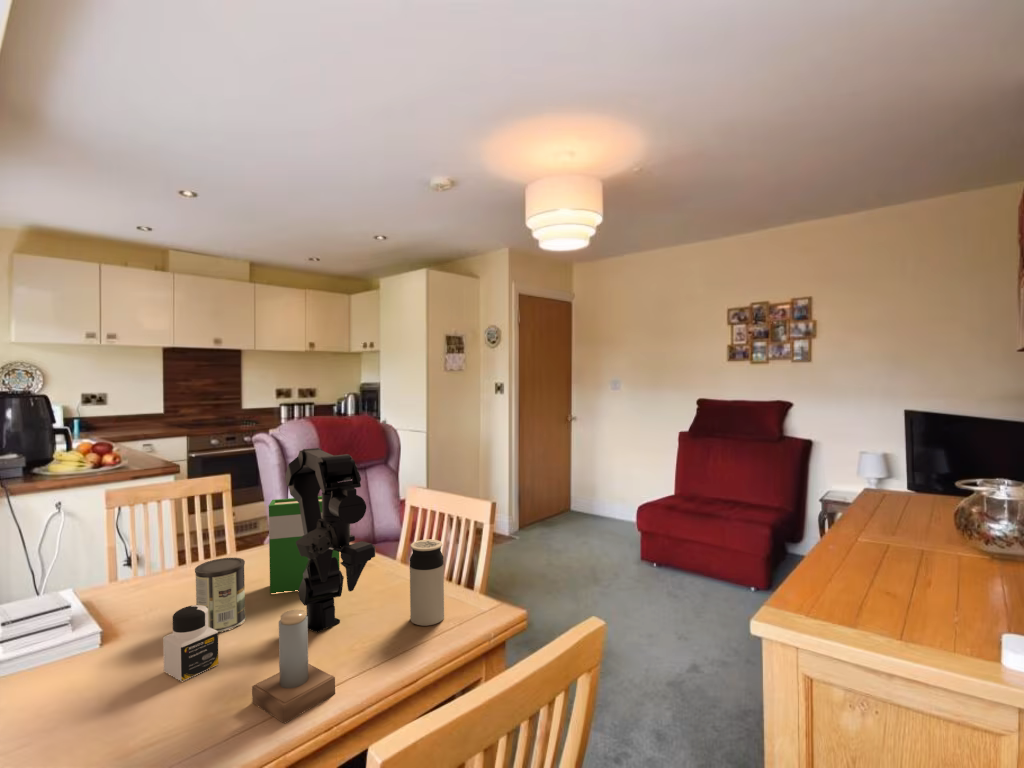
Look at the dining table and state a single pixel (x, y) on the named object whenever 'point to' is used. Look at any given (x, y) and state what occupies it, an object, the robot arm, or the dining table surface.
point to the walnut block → (293, 694)
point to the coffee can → (222, 592)
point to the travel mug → (426, 582)
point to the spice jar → (293, 648)
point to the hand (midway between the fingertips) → (337, 586)
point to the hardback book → (287, 545)
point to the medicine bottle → (190, 644)
